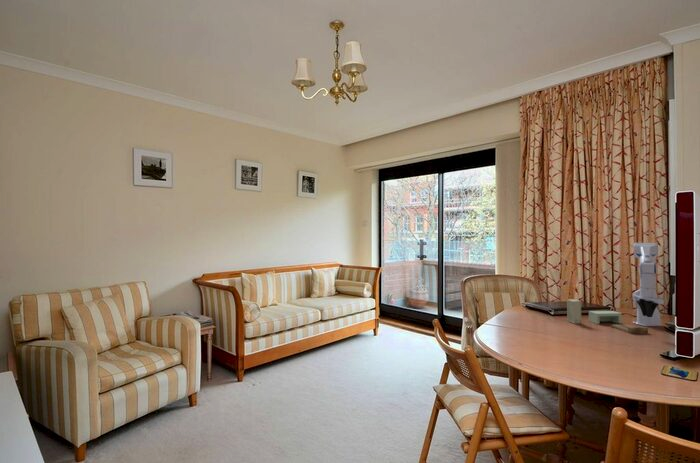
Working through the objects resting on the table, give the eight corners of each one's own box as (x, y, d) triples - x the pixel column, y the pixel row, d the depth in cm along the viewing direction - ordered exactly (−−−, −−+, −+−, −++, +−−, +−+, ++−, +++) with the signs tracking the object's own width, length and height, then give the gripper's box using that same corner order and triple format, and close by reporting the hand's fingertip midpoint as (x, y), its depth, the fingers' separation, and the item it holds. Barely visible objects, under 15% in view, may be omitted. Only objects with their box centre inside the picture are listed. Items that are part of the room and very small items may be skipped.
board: (627, 327, 186) (627, 321, 186) (647, 333, 174) (647, 327, 174) (610, 327, 186) (610, 321, 186) (630, 334, 174) (630, 328, 174)
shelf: (612, 320, 199) (612, 310, 199) (621, 323, 193) (621, 313, 193) (588, 321, 198) (588, 311, 198) (596, 323, 192) (596, 313, 192)
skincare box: (581, 323, 192) (581, 301, 192) (573, 323, 192) (573, 301, 192) (574, 320, 199) (574, 299, 199) (566, 320, 199) (566, 299, 199)
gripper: (626, 285, 177) (626, 312, 177) (653, 290, 162) (653, 320, 162) (640, 285, 177) (640, 312, 177) (668, 290, 163) (668, 320, 163)
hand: (647, 316), depth 170 cm, fingers closed
